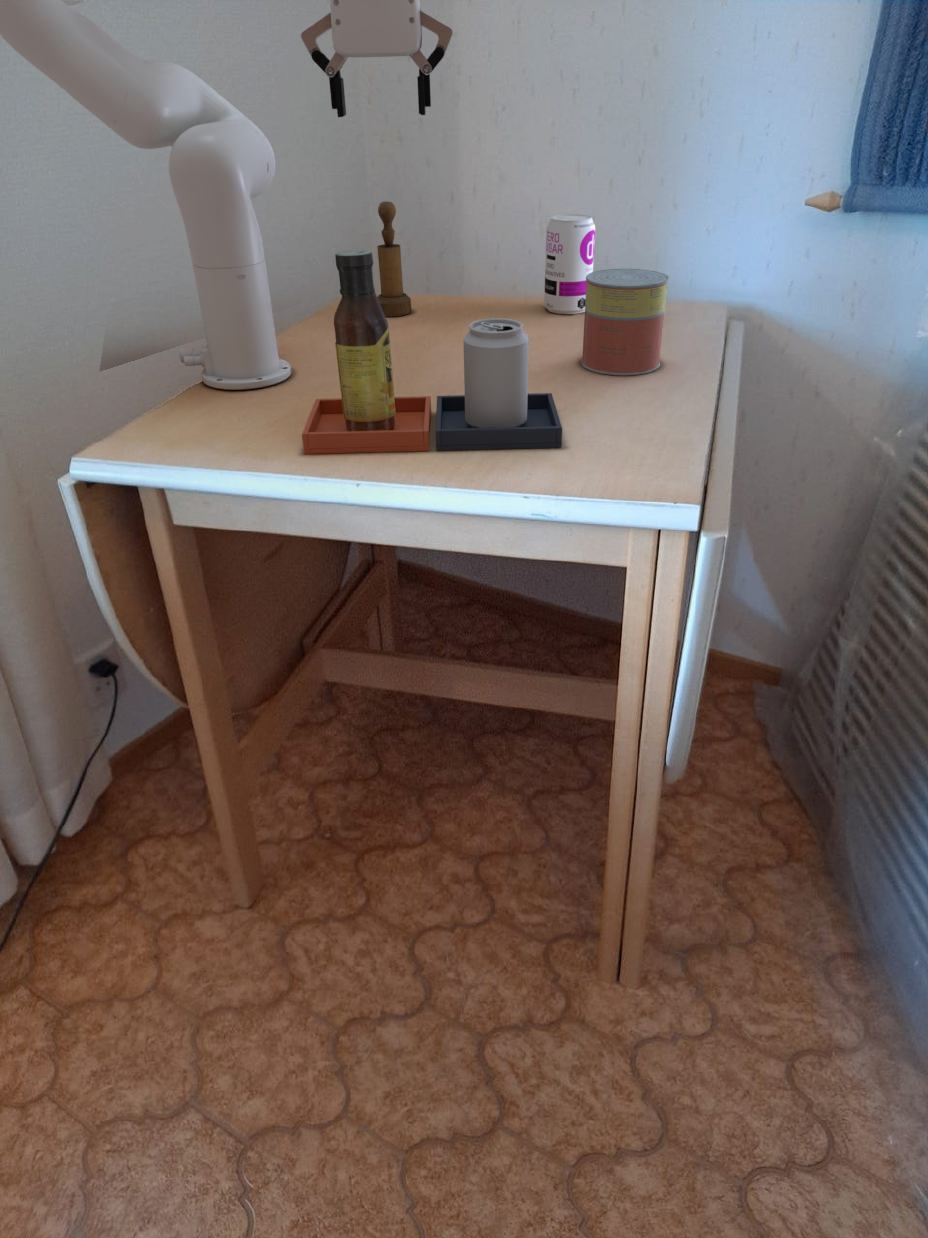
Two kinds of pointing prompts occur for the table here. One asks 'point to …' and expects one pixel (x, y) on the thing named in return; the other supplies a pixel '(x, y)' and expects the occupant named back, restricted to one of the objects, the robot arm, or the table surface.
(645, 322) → the canned food
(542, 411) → the charcoal tray
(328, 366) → the table surface
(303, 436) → the terracotta tray
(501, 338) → the can
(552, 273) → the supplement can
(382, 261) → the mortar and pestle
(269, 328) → the robot arm
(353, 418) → the sauce bottle
